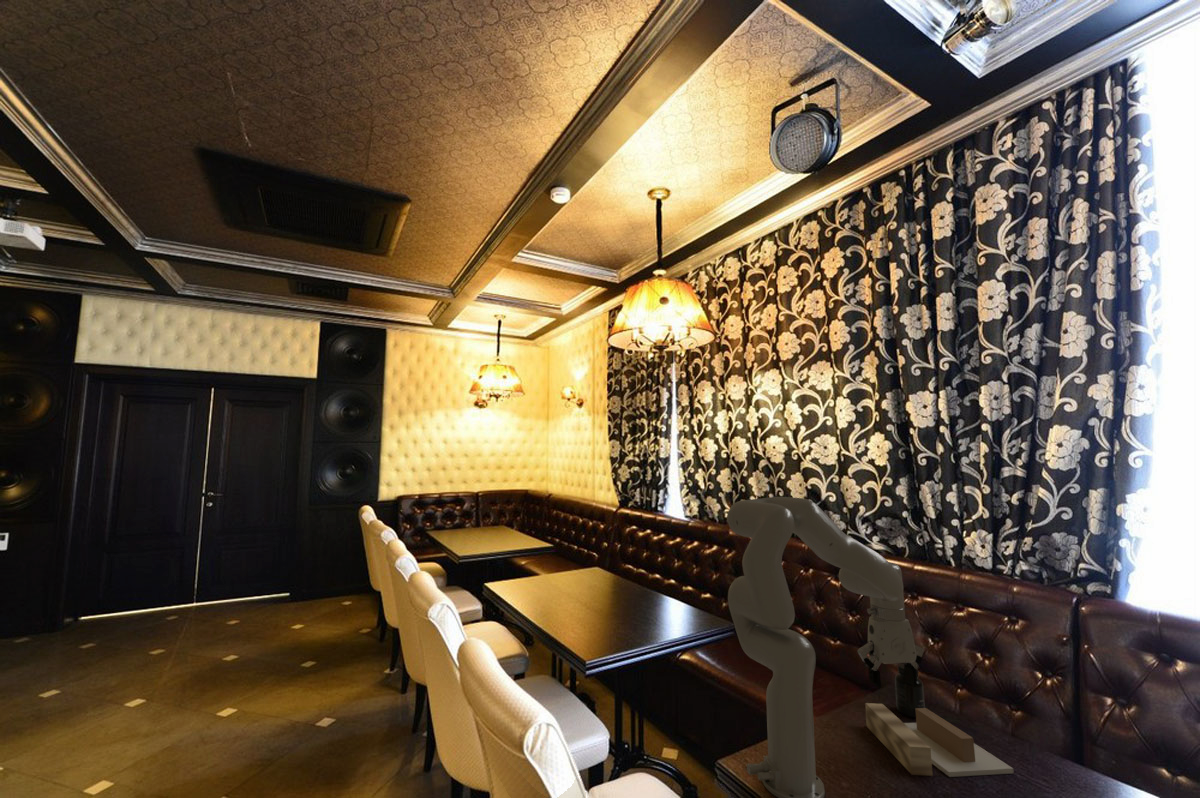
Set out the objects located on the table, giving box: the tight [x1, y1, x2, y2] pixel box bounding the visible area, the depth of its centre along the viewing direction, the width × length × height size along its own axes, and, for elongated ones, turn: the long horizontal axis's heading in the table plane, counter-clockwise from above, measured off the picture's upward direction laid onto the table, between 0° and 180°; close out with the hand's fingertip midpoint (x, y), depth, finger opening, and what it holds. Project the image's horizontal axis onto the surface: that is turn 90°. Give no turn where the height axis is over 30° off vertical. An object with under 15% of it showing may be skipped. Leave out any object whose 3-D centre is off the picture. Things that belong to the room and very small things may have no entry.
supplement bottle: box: [894, 663, 926, 719], centre depth 134 cm, size 7×7×12 cm
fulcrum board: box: [903, 707, 1015, 778], centre depth 116 cm, size 16×20×6 cm
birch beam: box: [864, 702, 934, 777], centre depth 115 cm, size 20×4×6 cm, turn 177°
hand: (893, 684), depth 117 cm, fingers open, 9 cm apart
